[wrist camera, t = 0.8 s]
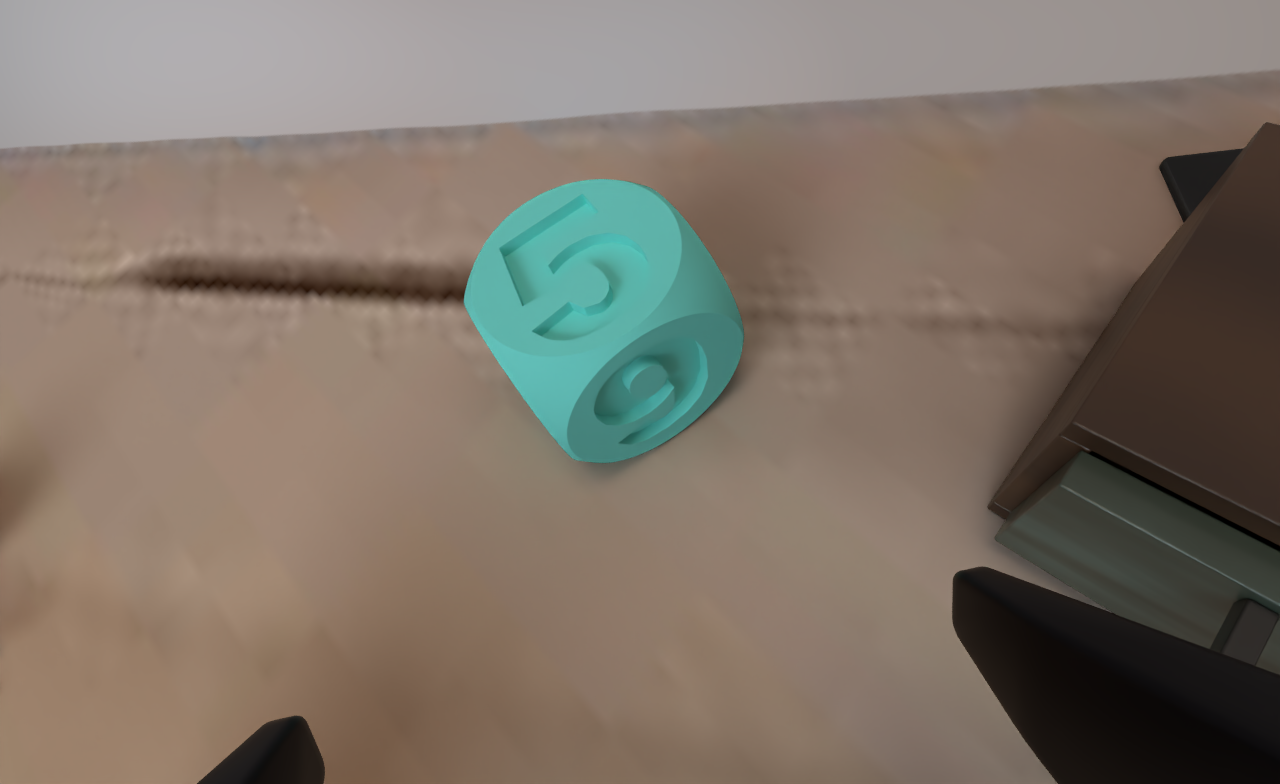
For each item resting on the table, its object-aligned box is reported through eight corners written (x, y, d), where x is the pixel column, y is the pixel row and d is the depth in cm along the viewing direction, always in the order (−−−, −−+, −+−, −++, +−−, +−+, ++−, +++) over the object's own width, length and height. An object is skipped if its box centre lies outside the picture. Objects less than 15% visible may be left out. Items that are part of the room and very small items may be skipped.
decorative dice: (655, 273, 29) (611, 142, 23) (754, 383, 25) (737, 265, 19) (520, 363, 29) (433, 257, 22) (600, 490, 25) (524, 409, 18)
